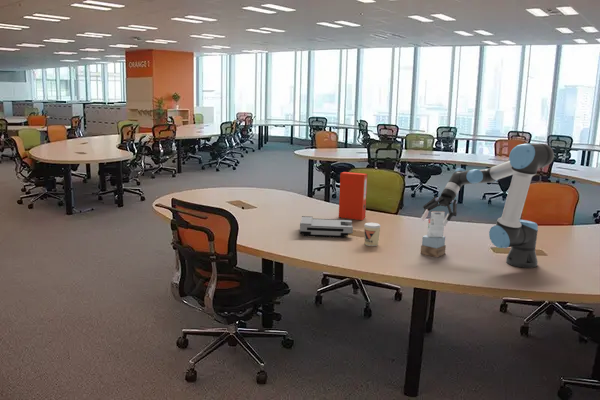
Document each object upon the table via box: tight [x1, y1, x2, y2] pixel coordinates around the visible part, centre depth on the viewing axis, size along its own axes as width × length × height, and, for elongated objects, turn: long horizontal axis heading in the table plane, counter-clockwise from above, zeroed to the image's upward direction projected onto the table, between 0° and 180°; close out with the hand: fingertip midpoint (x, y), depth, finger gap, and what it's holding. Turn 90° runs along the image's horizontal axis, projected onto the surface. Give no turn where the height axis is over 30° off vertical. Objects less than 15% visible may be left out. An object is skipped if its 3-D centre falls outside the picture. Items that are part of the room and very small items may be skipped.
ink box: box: [426, 210, 446, 237], centre depth 284 cm, size 4×8×15 cm, turn 92°
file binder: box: [338, 171, 368, 221], centre depth 365 cm, size 8×17×32 cm, turn 65°
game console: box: [299, 215, 354, 239], centre depth 324 cm, size 21×32×8 cm, turn 86°
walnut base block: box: [420, 244, 447, 258], centre depth 287 cm, size 10×10×5 cm
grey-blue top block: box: [421, 234, 446, 249], centre depth 286 cm, size 9×9×5 cm
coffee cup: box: [363, 222, 381, 247], centre depth 302 cm, size 9×9×12 cm
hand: (432, 222), depth 282 cm, fingers open, 13 cm apart
